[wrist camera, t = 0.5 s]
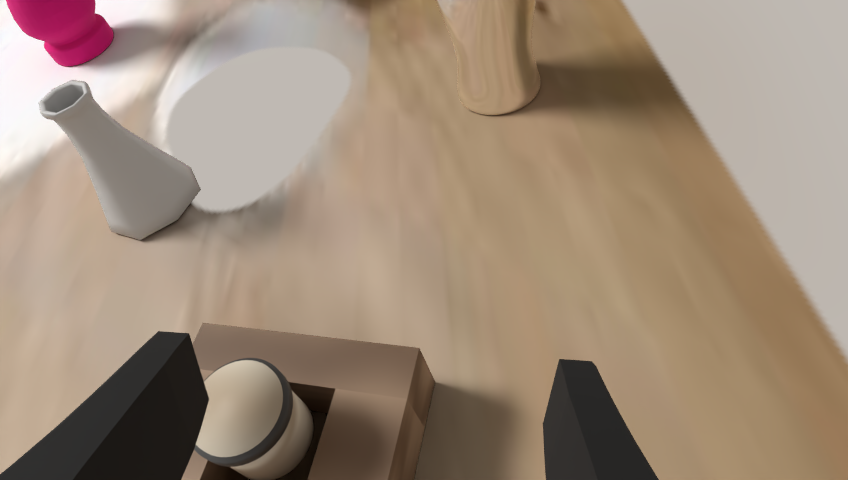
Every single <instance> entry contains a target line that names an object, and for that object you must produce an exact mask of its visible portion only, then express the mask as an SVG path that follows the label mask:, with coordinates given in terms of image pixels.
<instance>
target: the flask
mask: <svg viewBox="0 0 848 480" xmlns="http://www.w3.org/2000/svg"><path fill="white" fill-rule="evenodd" d="M39 108H40V113H41V114H42V115H43V116H44V117H45V118H47V119H50V120H54V121H55V122H56V123H57V124H58V125H59V126H60V127H61V129H62V130H63V131H64V132H65V133H66V134H67V135H68V137H69V138H70V140H71V142H72V143H73V145H74V146H75V148H76V150H77V151H78V153H79V154H80V156H81V157H82V160H83V162H84V164H85V167H86V169H87V171H88V174H89V176H90V178H91V181H92V183H93V186H94V188H95V190H96V193H97V195H98V198H99V201H100V203H101V206H102V209H103V211H104V214H105V217H106V219H107V222H108V224H109V227H110V229H111V232H114V233H118V234H121V235H124V236H128V237H131V238H135V239H138V240H141V239H143V238H145V237H147V236H149V235H150V234H152V233H154V232H156V231H158V230H160V229H162V228H163V227H165V226H167V225H169V224H171V223H173V222H174V221H176V220H178V219H179V217H180V216H181V215H182V213H183V212H184V211H185V209H186V208H187V207H188V206H189V204H190V203H191V202H192V200H193V199H194V198H195V196H196V195H197V194H198V192H199V191H200V190H201V189H200V187H199V185H198V183H197V180H196V178H195V176H194V174H193V172H192V169H191V168H190V167H189V166H188V165H186V164H184V163H183V162H181V161H179V160H177V159H176V158H174V157H172V156H170V155H169V154H167V153H165V152H163V151H162V150H160V149H158V148H156V147H155V146H153V145H151V144H150V143H148V142H146V141H145V140H143V139H142V138H140V137H138V136H137V135H135V134H134V133H132V132H130V131H129V130H127V129H125V128H124V127H122V126H121V125H120V124H119V123H118V122H117V121H115V120H114V119H113V118H112V117H111V116H109V115H108V114H107V113H106V112H105V111H104V110H102V108H101V107H100V106H99V105H98V104H97V103H96V101H95V100H94V99H93V97H92V94H91V91H90V88H89V86H88V84H87V83H86V82H82V81H76V80H71V81H68V82H66V83H64V84H62V85H60V86H58V87H56V88H54V89H52V90H51V91H50V92H49V93H48V94H47V95H46V96H45V97H44V98H43V99H42V100H41V101H40V102H39Z"/></svg>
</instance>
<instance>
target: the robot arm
mask: <svg viewBox="0 0 848 480" xmlns="http://www.w3.org/2000/svg"><path fill="white" fill-rule="evenodd" d="M208 402H209V397H208V393H207V390H206V387H205V384H204V381H203V377H202V374H201V371H200V368H199V364H198V361H197V358H196V355H195V351H194V348H193V345H192V342H191V338H190V335H189V333H174V332H160V331H158V332H157V333H156V334H155V335H154V336H153V337H152V338H151V339H150V340H149V341H147V342H146V343H145V344H144V345H143V346H142V347H141V348H140V349H139V350H138V351H137V352H136V353H135V354H134V355H133V356H132V357H131V358H130V359H129V360H128V361H127V362H125V363H124V364H123V365H122V366H121V367H120V368H119V369H118V370H117V371H116V372H115V373H114V374H113V375H112V376H111V377H110V378H109V379H108V380H107V381H106V382H105V383H104V384H102V385H101V386H100V387H99V388H98V389H97V390H96V391H95V392H94V393H93V394H92V395H91V396H90V397H89V398H87V399H86V400H85V401H84V402H83V403H82V404H81V405H80V406H79V407H78V408H77V409H75V410H74V411H73V412H72V413H71V414H70V415H69V416H68V417H67V418H66V419H65V420H64V421H62V422H61V423H60V424H59V425H58V426H57V427H56V428H55V429H53V430H52V431H51V432H50V433H49V434H48V435H46V436H45V437H44V438H43V439H42V440H41V441H39V442H38V443H37V444H36V445H35V446H34V447H32V448H31V449H30V450H29V451H28V452H26V453H25V454H24V455H23V456H22V457H21V458H19V459H18V460H17V461H16V462H15V463H14V464H12V465H11V466H10V467H9V468H7V469H6V470H5V471H4V472H2V473H1V474H0V480H181V479H182V477H183V474H184V472H185V470H186V467H187V465H188V463H189V460H190V458H191V456H192V453H193V451H194V449H195V445H196V442H197V439H198V436H199V433H200V430H201V426H202V423H203V420H204V416H205V413H206V409H207V406H208ZM543 434H544V455H545V472H546V480H659V479H658V478H657V476H656V475H655V473H654V471H653V470H652V468H651V466H650V465H649V463H648V461H647V460H646V458H645V457H644V455H643V453H642V452H641V450H640V448H639V447H638V445H637V443H636V442H635V440H634V438H633V436H632V435H631V433H630V431H629V429H628V428H627V426H626V424H625V422H624V420H623V418H622V417H621V415H620V413H619V411H618V409H617V407H616V405H615V404H614V402H613V400H612V398H611V396H610V394H609V392H608V390H607V388H606V386H605V384H604V382H603V380H602V378H601V376H600V374H599V372H598V369H597V367H596V366H595V365H594V363H593V362H592V361H579V360H564V359H559V363H558V366H557V370H556V374H555V378H554V382H553V386H552V390H551V394H550V398H549V402H548V406H547V410H546V414H545V418H544V422H543Z"/></svg>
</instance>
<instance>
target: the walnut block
mask: <svg viewBox="0 0 848 480" xmlns="http://www.w3.org/2000/svg"><path fill="white" fill-rule="evenodd" d="M193 348H194V351H195V355H196V358H197V361H198V364H199V368H200V371H201V374H202V377H203V381H204V380H205V379H206V378H207V377H208V376H209V375H210V374H212V373H213V372H214V371H215V370H217V369H218V368H220V367H221V366H223V365H225V364H227V363H229V362H231V361H234V360H238V359H243V358H258V359H262V360H265V361H268V362H269V363H271V364H273V365H274V366H275V367H276V368H277V369H278V370H279V371H280V372H281V373H282V374H283V375H284V376H285V377H286V379H287V380H288V382H289V384H290V387H291V390H292V391H293V392H294V393H295V394H296V395H297V396H298V397H299V398H300V399H301V400H302V401H303V402H304V403H305V404H306V406H307V407H308V409H309V410H311V411H317V412H323V413H328V415H327V418H326V421H325V425H324V428H323V431H322V434H321V437H320V441H319V444H318V447H317V450H316V454H315V457H314V460H313V463H312V466H311V470H310V473H309V476H308V479H307V480H414V476H415V471H416V467H417V462H418V458H419V453H420V448H421V444H422V439H423V435H424V430H425V425H426V421H427V416H428V411H429V407H430V402H431V398H432V393H433V388H434V384H435V381H434V378H433V376H432V374H431V372H430V370H429V368H428V366H427V364H426V361H425V359H424V357H423V355H422V353H421V351H420V349H419V348H414V347H406V346H397V345H388V344H380V343H371V342H363V341H354V340H346V339H337V338H329V337H320V336H312V335H303V334H295V333H286V332H277V331H269V330H260V329H252V328H243V327H235V326H226V325H218V324H209V323H203V324H202V326H201V328H200V330H199V332H198V334H197V336H196V338H195V341H194V343H193ZM181 480H248V478H247V477H245V476H244V475H242V474H240V473H239V472H237V471H235V470H234V469H232V468H231V467H225V466H220V465H216V464H214V463H212V462H210V461H208V460H207V459H205V458H203V457H202V456H201V455H199V454H198V453H197V452H196V451H195V450H194V451H193V453H192V456H191V458H190V460H189V463H188V465H187V467H186V470H185V472H184V474H183V477H182V479H181Z"/></svg>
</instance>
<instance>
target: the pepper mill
mask: <svg viewBox="0 0 848 480" xmlns="http://www.w3.org/2000/svg"><path fill="white" fill-rule="evenodd" d="M6 1H7V5H8V8H9V10H10V12H11V14H12V16H13V18H14V20H15V21H16V23H17V24H18V25H19V27H20V28H21V29H22V31H23V32H24V33H26V34H27V35H29V36H31V37H33V38H36V39H38V40H42V41H45V43H44V48H45V49H46V51H47V52H48V53H49V54H50V56H51V57H52V58H53V59H54V60H55V61H56V62H57V63H58V64H60V65H62V66H74V65H79V64H82V63H85V62H87V61H89V60H91V59H93V58H95V57H96V56H98V55H100V54H101V53H102V52H103V51H104V50H105V49H106V48H107V47H108V46H109V45H110V44H111V42H112V40H113V30H112V29H111V28H110V26H109V25H108V23H107V22H106V21H105V19H104V18H103V17H102V16H101V15H99V14H95V0H6Z"/></svg>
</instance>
